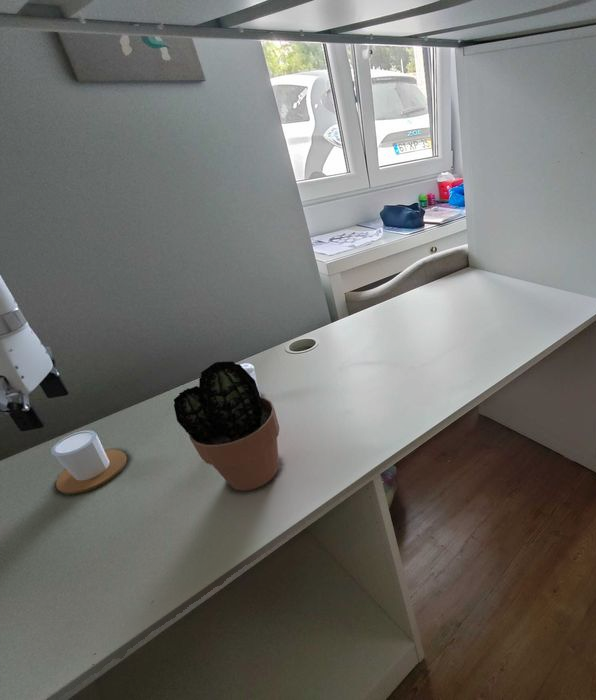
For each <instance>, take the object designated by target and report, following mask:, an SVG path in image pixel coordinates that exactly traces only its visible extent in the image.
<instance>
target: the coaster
mask: <svg viewBox="0 0 596 700" xmlns="http://www.w3.org/2000/svg"><path fill="white" fill-rule="evenodd" d="M104 451H105V453H106V455H107V458H108V460H109V466H108V467H107V469H106V470H105V471H103V472H102V473H101V474H99V475H97V476H95V477H93V478H90V479H88V480H82V481H80V480H76V479H75V478H74V477H73V476H72V475H71V474H70V473H69V472H68V470H67V469H66V468H64V470H63V471H62V472H61V473H60V474H59V475H58V477H57V479H56V482H55V486H56V489H57V490H58V491H59V492H60V493H62V494H64V495H77V494H82V493H86V492H89V491H92V490H95V489H96V488H99V487H102V486H103V485H105V484H106V483H108V482H110V481H111V480H112V479H114V478H115V477H116V476H117V475H119V473H120V472H121V471H123V469H124V468H125V466H126V463H127V459H128V458H127V456H126V453H125V452H123V451H122V450H119V449H104Z"/></svg>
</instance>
